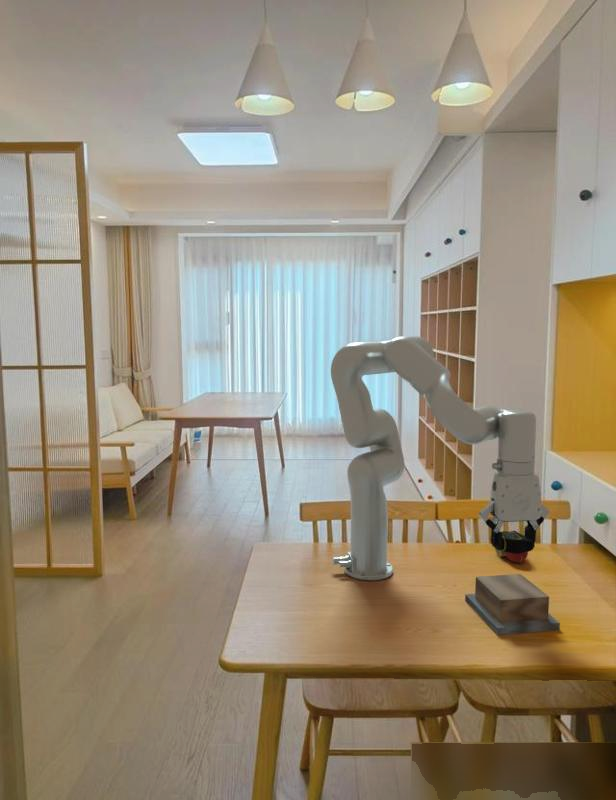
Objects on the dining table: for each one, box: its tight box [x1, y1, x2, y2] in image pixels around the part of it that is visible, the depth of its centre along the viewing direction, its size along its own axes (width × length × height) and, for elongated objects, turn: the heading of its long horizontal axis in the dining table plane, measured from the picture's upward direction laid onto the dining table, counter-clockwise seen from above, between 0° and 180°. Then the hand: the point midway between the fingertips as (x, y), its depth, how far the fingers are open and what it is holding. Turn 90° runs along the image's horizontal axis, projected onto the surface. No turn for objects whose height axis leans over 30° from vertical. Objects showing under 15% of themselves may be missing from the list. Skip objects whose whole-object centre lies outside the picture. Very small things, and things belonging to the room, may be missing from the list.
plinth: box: [464, 573, 561, 636], centre depth 130 cm, size 14×16×6 cm
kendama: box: [489, 534, 529, 564], centre depth 167 cm, size 8×6×18 cm
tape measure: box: [500, 530, 535, 554], centre depth 129 cm, size 7×7×4 cm
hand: (513, 546), depth 129 cm, fingers closed on tape measure, 7 cm apart
